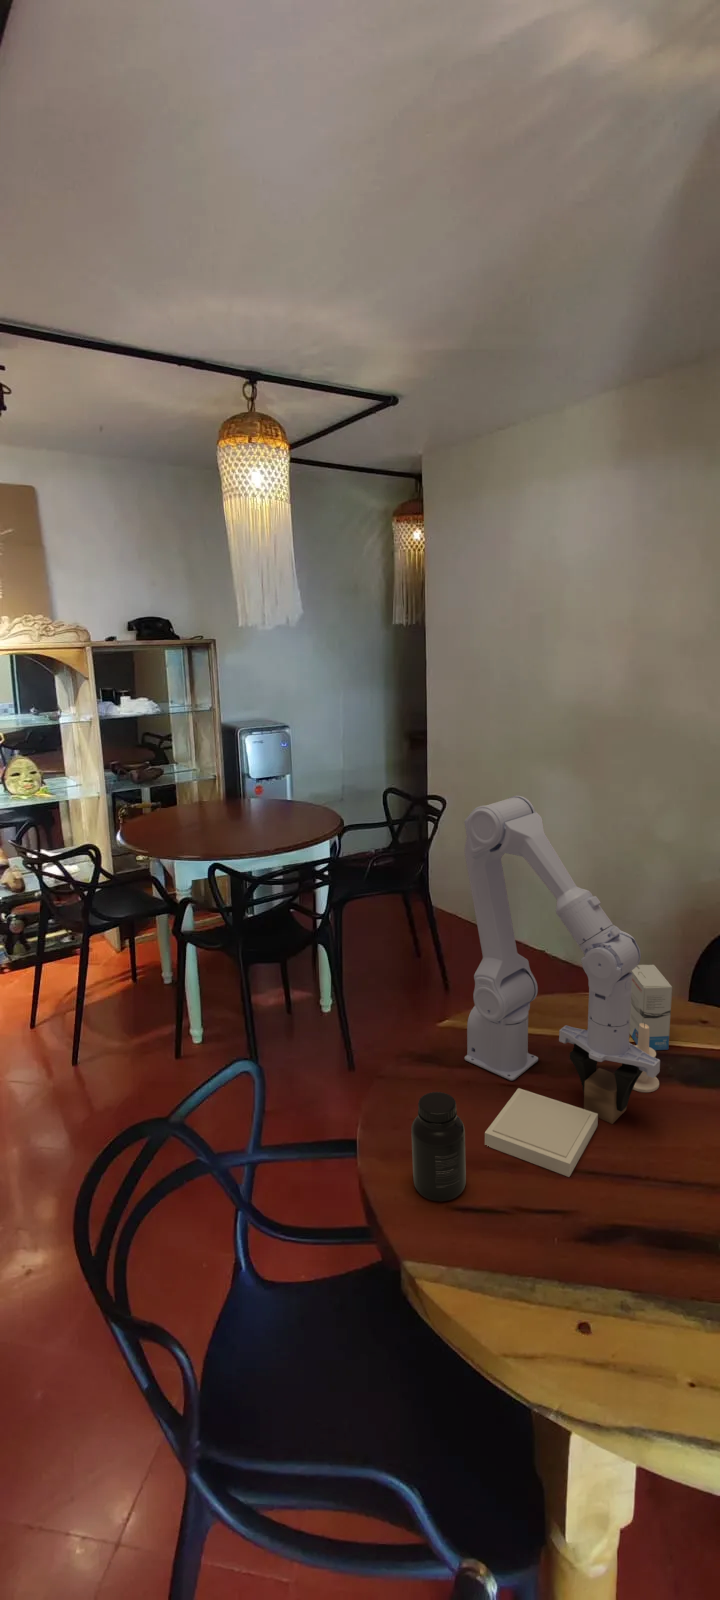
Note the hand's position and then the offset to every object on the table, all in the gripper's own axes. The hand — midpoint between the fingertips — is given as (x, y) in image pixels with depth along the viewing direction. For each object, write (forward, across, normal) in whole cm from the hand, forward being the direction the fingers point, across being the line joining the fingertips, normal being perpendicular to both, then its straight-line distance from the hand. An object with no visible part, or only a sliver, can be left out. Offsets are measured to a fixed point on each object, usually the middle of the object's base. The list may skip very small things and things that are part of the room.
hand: (605, 1100), depth 112 cm
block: (+2, 0, 0) cm, 2 cm away
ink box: (+2, -4, +23) cm, 23 cm away
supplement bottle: (+2, -9, -28) cm, 29 cm away
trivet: (+2, -4, -11) cm, 12 cm away
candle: (+2, +1, +10) cm, 10 cm away
